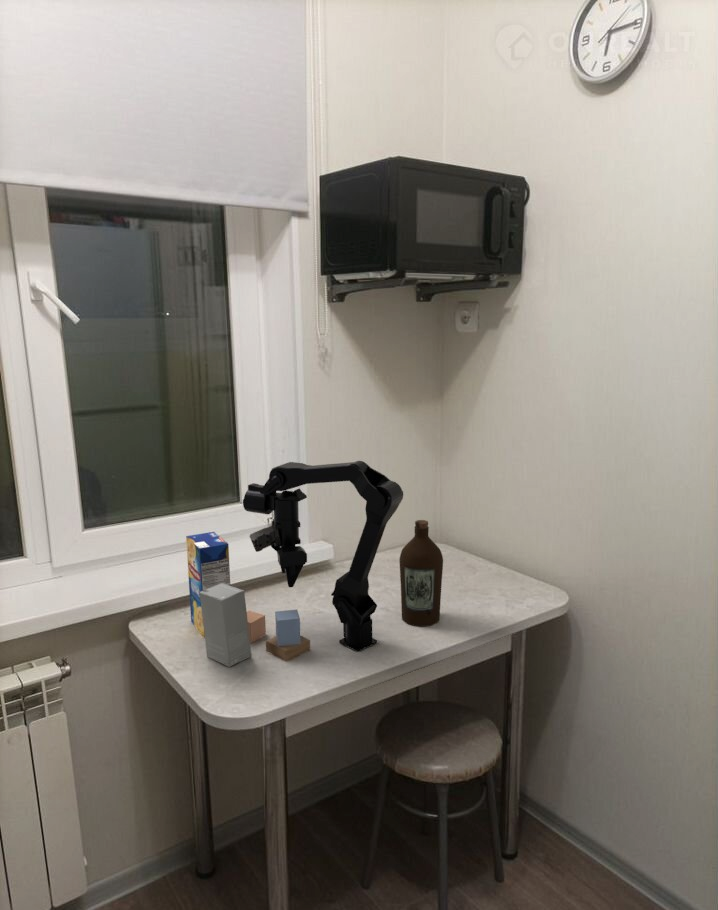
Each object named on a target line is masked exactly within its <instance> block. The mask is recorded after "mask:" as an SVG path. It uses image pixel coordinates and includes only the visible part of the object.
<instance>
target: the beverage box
mask: <svg viewBox="0 0 718 910" xmlns="http://www.w3.org/2000/svg"><path fill="white" fill-rule="evenodd" d="M185 537H186V541H185V542H186V553H187V555H186V556H187V575H188V589H189V591H188V592H189V605H190V622H191V623H192V625H194V626H195V628H196V629H197V631H198V632H199V633H200V634H201V636H202V637H203V638H204V639H205V634H204V626H203V617H202V609H201V601H200V592H201V591H204V590H206V589H209V588H211V587H214V586H216V585H219V584H221V583H224V584H227V585H229V586H231V571H230V553H229V552H230V550H229V543H228V542H227V541H226V540H225V539H223V538H222V537H221V536H220V535H218V534H217V533H216V532H215V531H211V532H210V531H209V532H203V533H196V534H192V535H186V536H185Z"/></svg>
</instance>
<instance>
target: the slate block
mask: <svg viewBox="0 0 718 910" xmlns="http://www.w3.org/2000/svg"><path fill="white" fill-rule="evenodd" d="M274 613H275V615H274V616H275V636H276V638H277V643H278V646H286V645H295V644H301V637H300V635H301V618H300V614H299V611H298V608H297V609H286V610H277V611H274Z"/></svg>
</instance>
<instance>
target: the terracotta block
mask: <svg viewBox="0 0 718 910" xmlns="http://www.w3.org/2000/svg"><path fill="white" fill-rule="evenodd" d="M246 611H247V621H248V630H249V639H250V644H253V643H255V642H256V641H258V640H260V639H261V638H263V637H265V636H266V635H267V630H266V629H267V628H266V615H265V614H263V613H259V612H256V611H252V610H246Z"/></svg>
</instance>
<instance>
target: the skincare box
mask: <svg viewBox="0 0 718 910" xmlns="http://www.w3.org/2000/svg"><path fill="white" fill-rule="evenodd" d="M245 595H246V594H245V590H244V589H241V588H238V587H235V586H232V585H230V586H229V585H227V584H224V583H221V584H219V585H216V586H214V587H211V588H209V589H206V590H204V591H201V592H200V601H201V609H202V617H203V626H204V634H205V638H204V641H205V650H206V657H208V658H209V659H211V660H213V661H216V662H218V663H220V664H222V665H224V666H227V667H229V668H230V667H231V666H234V665H236V664H238V663H240V662H242V661H245V660H247V659H249V658H251V657H252V650H251V648H252V647H251V643H250V639H249V630H248V621H247V611H248V610H247V603H246V596H245Z"/></svg>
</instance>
